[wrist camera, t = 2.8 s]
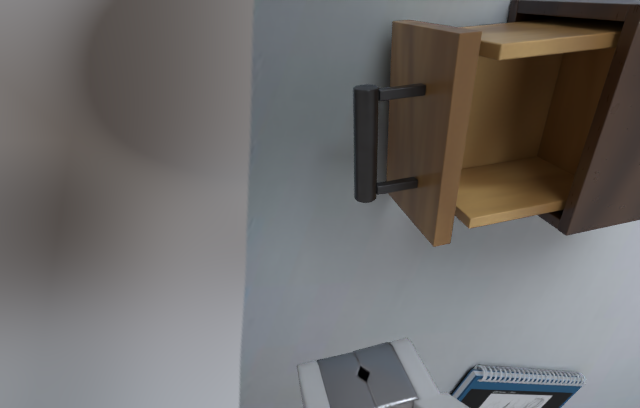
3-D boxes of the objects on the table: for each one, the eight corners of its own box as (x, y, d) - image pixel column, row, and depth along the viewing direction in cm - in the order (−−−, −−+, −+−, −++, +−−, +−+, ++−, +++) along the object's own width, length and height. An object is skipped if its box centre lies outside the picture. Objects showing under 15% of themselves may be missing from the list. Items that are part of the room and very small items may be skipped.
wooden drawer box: (479, 175, 33) (566, 235, 25) (511, -1, 26) (645, 4, 18) (617, 151, 35) (735, 199, 27) (679, -15, 29) (862, -16, 20)
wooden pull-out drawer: (335, 199, 29) (370, 260, 23) (328, 26, 23) (373, 41, 17) (530, 165, 33) (610, 210, 26) (571, 5, 26) (690, 10, 20)
